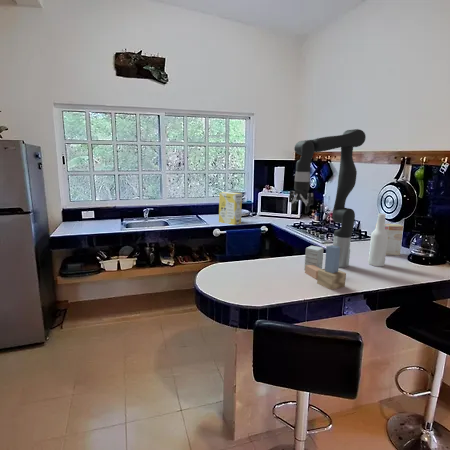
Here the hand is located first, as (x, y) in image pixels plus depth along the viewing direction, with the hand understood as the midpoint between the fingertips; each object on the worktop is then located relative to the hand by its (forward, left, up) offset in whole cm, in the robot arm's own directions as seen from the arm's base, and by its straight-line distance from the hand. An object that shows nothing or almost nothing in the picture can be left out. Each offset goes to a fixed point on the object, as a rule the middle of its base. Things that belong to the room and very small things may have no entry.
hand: (300, 211), depth 174 cm
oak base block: (+3, +24, -32) cm, 40 cm away
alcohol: (-48, +19, -32) cm, 61 cm away
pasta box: (-55, -128, -32) cm, 143 cm away
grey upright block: (-8, +5, -32) cm, 34 cm away
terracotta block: (-1, +11, -32) cm, 34 cm away
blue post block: (+3, +24, -25) cm, 35 cm away
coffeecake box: (-77, +10, -32) cm, 84 cm away
